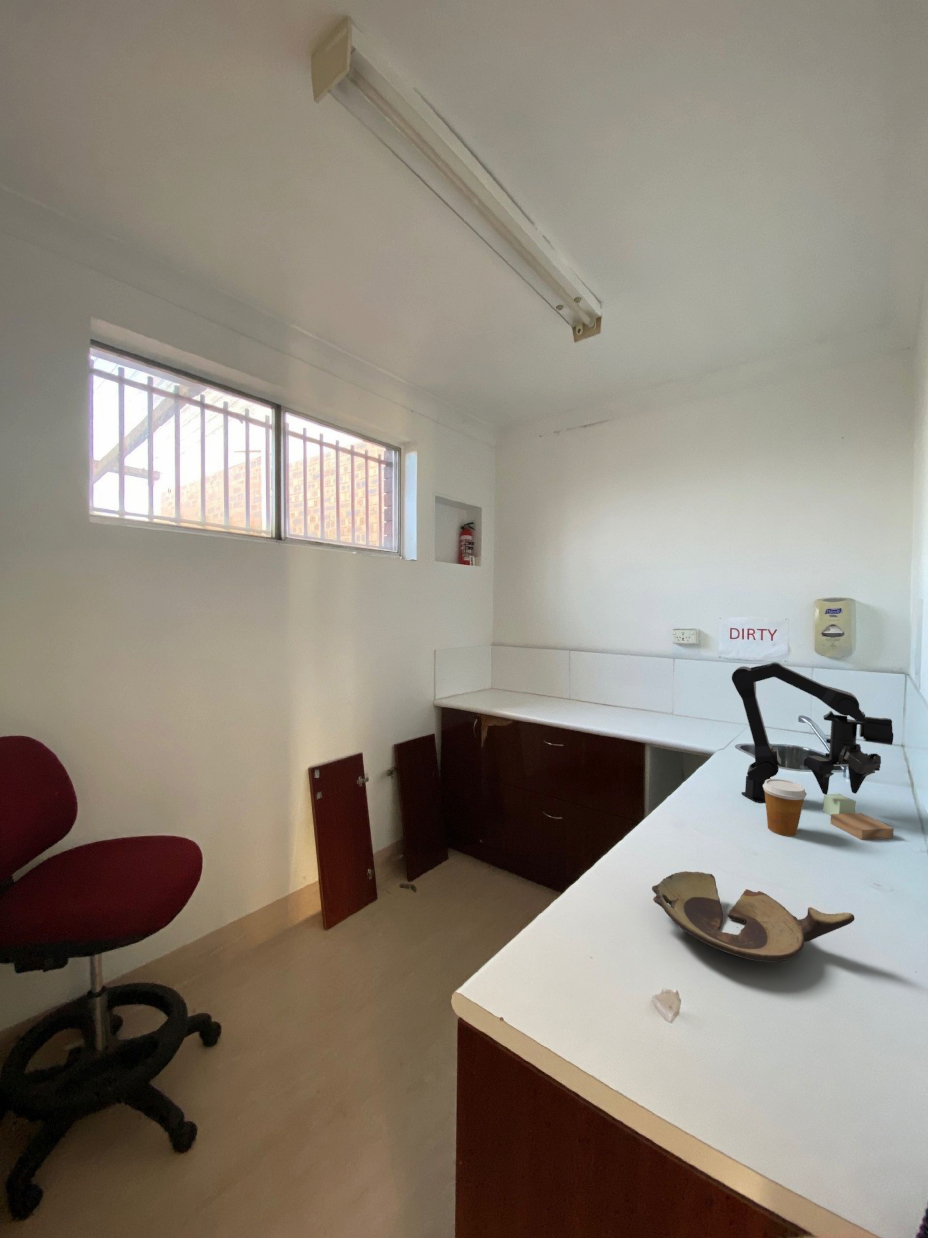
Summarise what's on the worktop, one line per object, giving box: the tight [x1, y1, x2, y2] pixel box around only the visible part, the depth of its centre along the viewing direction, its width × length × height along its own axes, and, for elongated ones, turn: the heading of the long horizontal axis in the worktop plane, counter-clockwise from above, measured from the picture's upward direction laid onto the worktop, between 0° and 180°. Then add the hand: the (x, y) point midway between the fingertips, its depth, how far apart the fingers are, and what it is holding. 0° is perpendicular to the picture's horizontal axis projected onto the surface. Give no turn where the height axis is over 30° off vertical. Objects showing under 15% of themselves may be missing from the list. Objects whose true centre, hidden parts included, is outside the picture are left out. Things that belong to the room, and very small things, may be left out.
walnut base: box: [830, 812, 894, 841], centre depth 131 cm, size 9×9×2 cm
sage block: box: [822, 793, 857, 816], centre depth 140 cm, size 5×5×5 cm
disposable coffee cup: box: [763, 778, 808, 837], centre depth 130 cm, size 10×10×12 cm
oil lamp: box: [651, 870, 855, 963], centre depth 88 cm, size 22×30×8 cm
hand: (839, 793), depth 140 cm, fingers open, 9 cm apart
